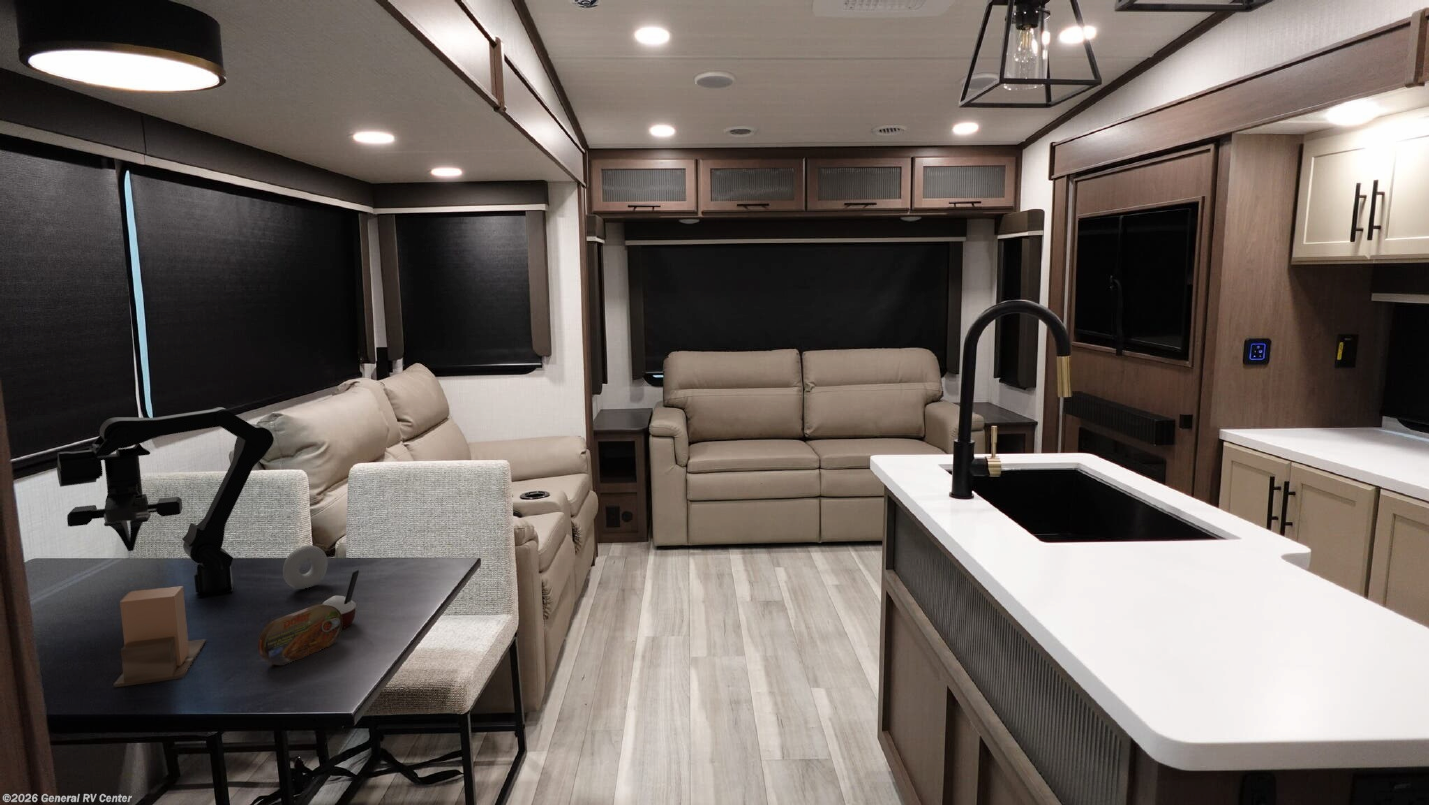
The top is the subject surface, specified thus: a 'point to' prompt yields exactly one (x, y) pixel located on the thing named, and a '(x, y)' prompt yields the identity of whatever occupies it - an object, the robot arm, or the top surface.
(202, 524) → the robot arm
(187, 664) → the pipe stand
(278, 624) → the tin
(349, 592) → the cocoa
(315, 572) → the donut
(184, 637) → the rectangular block
